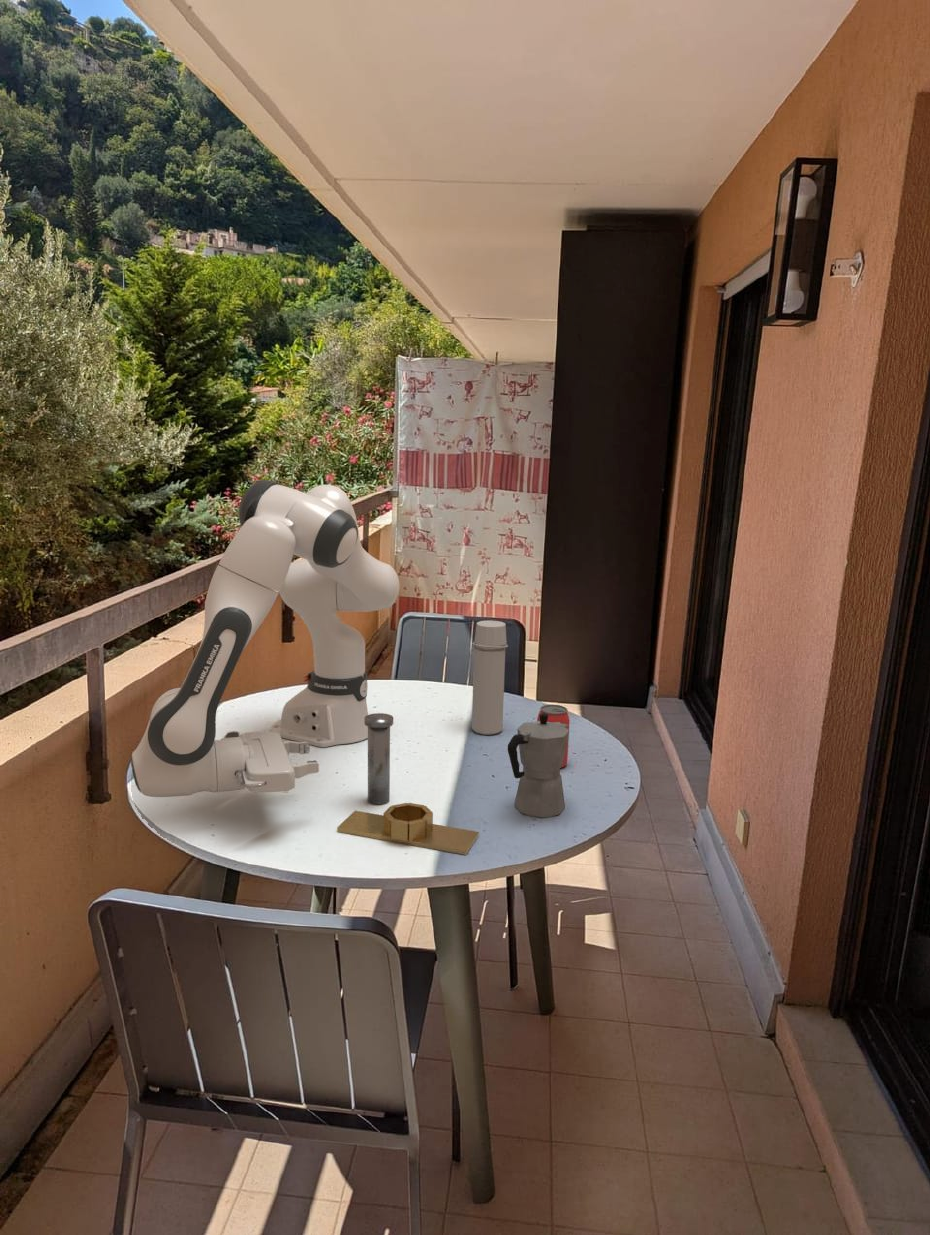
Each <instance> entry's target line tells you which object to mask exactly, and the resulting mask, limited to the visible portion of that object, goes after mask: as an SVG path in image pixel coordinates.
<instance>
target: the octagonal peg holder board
mask: <svg viewBox="0 0 930 1235" xmlns="http://www.w3.org/2000/svg"><path fill="white" fill-rule="evenodd" d="M433 822H434V812H433V811H432V810H431V809H430V808H428V806H426V805H424V804H420V803H419V804H418V803H413V802H405V803H404V802H403V803H398V804H394V805H390V806H389V807H387V809H385V811H384V812H383V814H378V813H377V814H376V813H372V812H365V811H360V810H354V811H353V812H352V813H350V815H349V816H347V817H346V819H344V820H343V821H341V823H340V824H339V825H338V826H337V830H336V831H337V833H341V834H342V833H344V834H349V835H353V836H357V837H358V836H359V837H364V838H370V839H375V840H380V841H381V840H382V841H386V842H392V843H398V844H404V845H408V846H415V847H420V848H425V849H430V850H437V851H441V852H447V853H452V854H457V855H463V856H467V854H469V851H470V850H471V848H472V847H473V845H474V844H475V843H476V841H477V840H478V838H479V836H480V832H479V831H476V830H472V829H471V830H469V829H464V828H458V827H454V826H447V825H443V824H436V823H433Z"/></svg>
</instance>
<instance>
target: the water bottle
mask: <svg viewBox="0 0 930 1235" xmlns="http://www.w3.org/2000/svg"><path fill="white" fill-rule="evenodd" d="M506 626H507V625H506V623H505V622H503V621H499V620H480V621H478V622H476V627H475V634H474V635H475V636H474V641H473V642H472V645H473V646H474V647H473V669H472V673H473V675H472V700H471V701H472V703H471V705H472V706H471V707H472V708H471V710H472V711H471V729H472V730H473V732H475V733H476V734H480V735H485V736H491V735H497V734H499V733H501V732H502V731H503V726H504V725H503V724H504V695H505V672H506V671H505V669H506V668H505V666H506V665H505V664H506V648H508V647H509V645H508V644H507V628H506Z"/></svg>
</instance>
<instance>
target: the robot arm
mask: <svg viewBox="0 0 930 1235" xmlns="http://www.w3.org/2000/svg"><path fill="white" fill-rule="evenodd" d="M238 520H239V525H240V526H241V527H240V528H239V530H238V531H237V533H236V534H235V535H234V537H233V538H232V539H231V542H230V543H229V545H228V546H227V548H226V549H225V551H224V553H223V555H222V557H221V559H220V560H219V562H218V564H217V566H216V568H215V570H214V572H213V575H212V578H211V580H210V582H209V586H208V590H207V594H206V598H205V601H204V627H203V632H202V633H203V634H202V639H201V642H200V646H199V647H198V650H197V653H196V654H195V657H194V659H193V661H192V663H191V666H190V668H189V670H188V672H187V674H186V677H185V679H184V680H183V683H182V685H181V686H178V687H173V688H171V689H168V690H166V691H165V692H163V693H162V694H161V695H159V696H158V698H157V699H156V701H155V703H154V705H153V707H152V709H151V712H150V716H149V720H148V723H147V727H146V729H145V732H144V733H143V735H142V738H141V739H140V742H139V743H138V745H137V747H136V748H135V749H134V751H133V752H132V754H131V757H130V764H131V766H130V767H131V772H132V776H133V779H134V780H133V781H134V782H135V785H136V789H137V790H138V791H139V793H141V794H142V795H144V796H146V797H152V798H153V797H154V798H173V797H175V798H176V797H185V796H192V795H194V794H197V793H201V792H202V793H203V792H209V793H222V792H223V793H224V792H233V791H241V790H245V789H248V790H249V791H250V792H253V793H278V792H279V793H283V792H290V791H291V790H293V789H295V788H296V787H295V786H296V780H297V779H301V778H303V777H306V776H308V775H309V774H317V773H319V772H320V769H319V768H320V764H319V763H318V761H317V760H315V759H313V760H307V762H305V763H304V762H303V763H302V764H301V763H300V764H299V763H293V764H292V762H291V759H290V757H289V754H293V753H294V754H299V755H307V754H310V752H311V751H310V750H311V748H310V745H311V746H315V747H318V748H327V747H332V746H335V745H336V746H337V745H345V744H346V745H347V744H354V743H356V742H357V743H358V742H361V741H364V740H366V739H368V726H366V725H365V724H364V718H365V716H367V715H369V712H368V703H367V697H368V689H369V688H368V686H369V685H368V671H367V670H366V641H365V637H363V634H361V632H360V631H358V630H357V629H356V628H354V627H352V626H350V625H348V624H347V623H344V622H343V621H342V620H341V619H340V618H339V616H338V614H337V612H362V613H364V612H366V613H367V612H368V613H369V612H374V611H380V610H385V609H386V610H387V609H390V608H392V606H393V605H394V604H395V603H396V601H397V599H398V597H399V593H400V590H401V589H400V586H401V584H400V579H399V576H398V574H397V571H396V570H395V569H394V568H393V566H392V565H391V564H389V563H385V562H383V561H381V560H379V559H377V558H376V557H374V556H372V555H371V554H370V553H368V552H367V551H366V550H365V549H364V547H363V546H362V542H361V539H360V538H361V537H360V533H359V526H358V525H359V524H358V520H357V515H356V513H355V510H354V507H353V504H352V502H351V500H350V498H349V496H348V495H347V494H346V492H345V491H344V490H343V489H341V488H340V487H338V486H336V485H333V484H319V485H316V486H314V487H312V488H311V489H309V490H308V491H307V492H306V493H305V492H304V491H300V490H298V489H294V488H292V487H288V486H285V485H283V484H282V483H281V482H278V481H273V480H268V479H261V480H258V481H257V482H255V483H253V484H251V485H250V486H249V487H248V488H247V489H246V490H245V492H244V494H243V496H242V497H241V500H240V501H239V505H238ZM294 556H296V557H298V558H301V559H302V560H297V561H292V560H293V557H294ZM303 559H304V560H303ZM279 595H280V598H281V600H282V601H283V602H284V604H285V605H286V606H287V607H289V608H290V609H291V610H293V611H294V612H295V613H296V614H297V615H298V616H299V617H300V618H301V619H302V621H303V622H304V624H305V625H306V627H307V629H308V631H309V633H310V637H311V642H312V648H313V662H314V663H313V670H312V671H311V672H308V673H307V675H305V676H304V677H303V682H304V683H306V682H307V685H306V686H307V687H305V688H304V689H303V690H300V692H298V693H297V694H296V695H294V696H292V697H291V698H290V699H289V700H288V701H287V702H285V703H284V706H283V709H282V712H281V718H280V719H279V720H278V721H276V722H275V723H274V724H272V726H271V728H270V731H251V732H250V731H249V732H243V733H240V731H238V730H232V731H231V730H230V731H228V732H226V733H225V735H224V736H223V737H222V738H221V739H216V734H217V732H216V731H217V728H216V725H217V722H216V720H217V718H216V717H217V711H218V707H219V704H220V702H221V699H222V698H223V695H224V693H225V691H226V688H227V686H228V684H229V681H230V679H231V677H232V675H233V673H234V670H235V668H236V665H237V664H238V662H239V659H240V657H241V655H242V653H243V651H244V650H245V648H246V647H247V645H248V644H249V642H250V641H251V639H252V637H254V635H255V633H256V632H257V631H258V629H259V628H260V626H261V625H262V623H263V622H264V620H265V618H266V617H267V616H268V614H269V612H270V611H271V609H272V607H273V605H274V603H275V602H276V600H277V598H278V596H279ZM283 739H286V740H284V741H283Z"/></svg>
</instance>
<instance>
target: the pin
mask: <svg viewBox="0 0 930 1235" xmlns="http://www.w3.org/2000/svg"><path fill="white" fill-rule="evenodd" d="M364 724H365V725H366V726H368V738H367V803H369V804H371V805H373V806H383V805H386V804H388V803H389V802H390V799H391V798H390V795H391V794H390V793H391V792H390V790H391V788H390V786H391V785H390V784H391V783H390V782H391V780H390V779H391V776H390V775H391V774H390V773H391V762H390V761H391V727H392V726H393V725H394V716H393V715H391V714H388V713H384V712H378V713H377V712H376V713H375V712H374V713H370V714H369V713H368V715H367V716H365V718H364Z"/></svg>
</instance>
